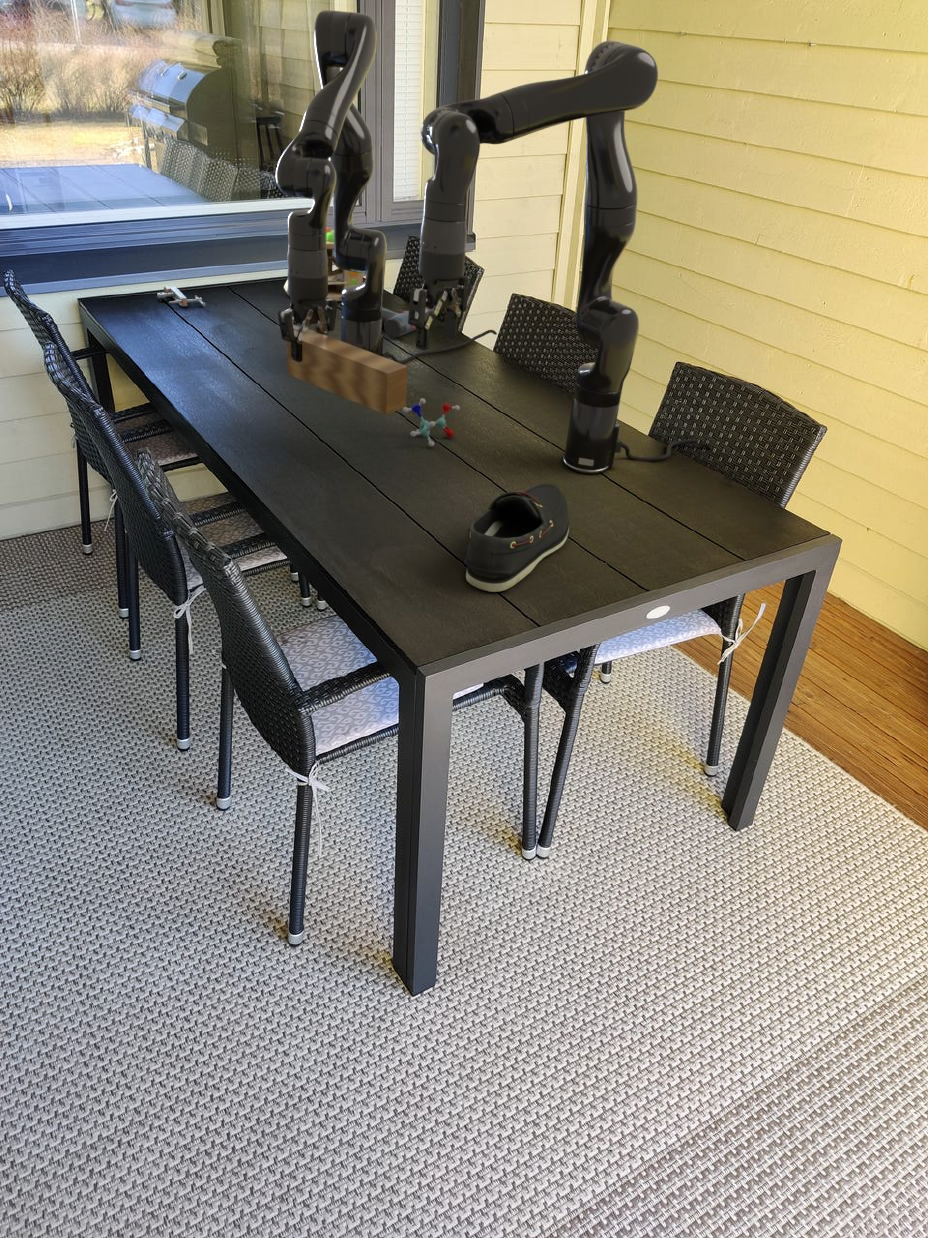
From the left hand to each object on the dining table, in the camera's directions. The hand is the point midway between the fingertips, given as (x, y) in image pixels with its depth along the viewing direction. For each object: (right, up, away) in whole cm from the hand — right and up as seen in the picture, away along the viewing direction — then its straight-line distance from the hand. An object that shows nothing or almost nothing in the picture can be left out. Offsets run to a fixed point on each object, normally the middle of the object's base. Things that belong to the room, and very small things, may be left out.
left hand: (308, 356), depth 194 cm
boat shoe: (+40, -40, -24) cm, 61 cm away
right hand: (+26, -4, -25) cm, 36 cm away
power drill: (+11, +28, +71) cm, 77 cm away
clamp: (-46, +34, +71) cm, 91 cm away
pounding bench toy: (-10, +41, +88) cm, 97 cm away
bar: (+7, -7, -2) cm, 11 cm away
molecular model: (+23, -14, +11) cm, 29 cm away
